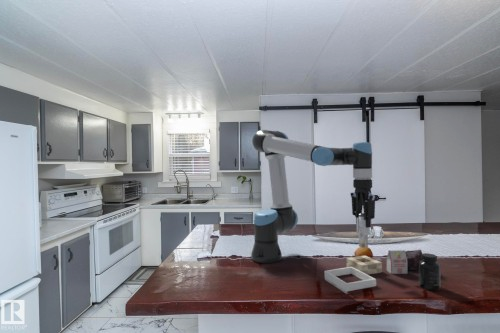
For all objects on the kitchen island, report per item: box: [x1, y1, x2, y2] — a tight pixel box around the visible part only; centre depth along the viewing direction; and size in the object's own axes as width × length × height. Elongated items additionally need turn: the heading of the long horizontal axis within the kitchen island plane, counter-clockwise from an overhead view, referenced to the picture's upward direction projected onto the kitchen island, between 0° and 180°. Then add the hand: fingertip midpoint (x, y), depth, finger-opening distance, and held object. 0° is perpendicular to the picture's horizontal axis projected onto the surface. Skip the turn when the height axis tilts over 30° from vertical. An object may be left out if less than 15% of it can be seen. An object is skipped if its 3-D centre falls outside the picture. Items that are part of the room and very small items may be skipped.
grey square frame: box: [324, 266, 377, 295], centre depth 112 cm, size 14×13×4 cm
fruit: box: [353, 246, 373, 258], centre depth 137 cm, size 8×8×8 cm
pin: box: [358, 212, 369, 248], centre depth 124 cm, size 4×4×14 cm
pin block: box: [345, 256, 383, 275], centre depth 124 cm, size 10×10×5 cm
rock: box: [405, 249, 423, 272], centre depth 125 cm, size 12×9×10 cm
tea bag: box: [386, 249, 408, 275], centre depth 120 cm, size 4×7×10 cm, turn 90°
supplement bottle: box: [418, 252, 441, 292], centre depth 107 cm, size 7×7×12 cm
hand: (363, 233), depth 124 cm, fingers closed on pin, 3 cm apart
